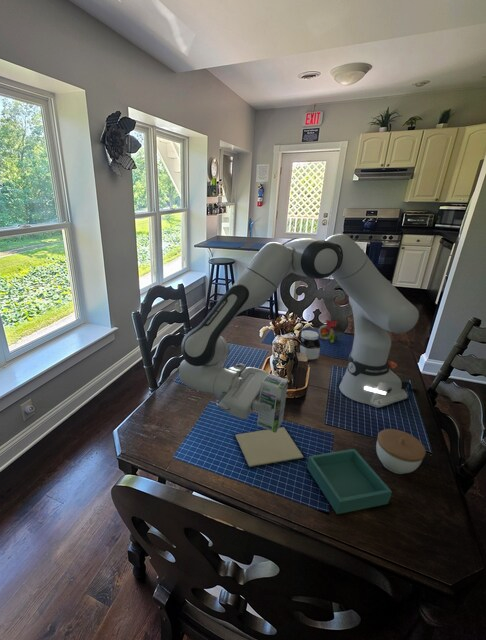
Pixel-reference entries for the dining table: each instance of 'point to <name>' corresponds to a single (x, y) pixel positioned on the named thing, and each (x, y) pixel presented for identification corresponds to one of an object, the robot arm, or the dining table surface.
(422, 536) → the dining table surface
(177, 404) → the dining table surface
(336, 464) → the teal green tray
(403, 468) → the trinket box
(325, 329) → the bird rattle
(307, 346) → the spread jar
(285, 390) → the syrup box
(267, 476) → the dining table surface
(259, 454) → the felt mat
